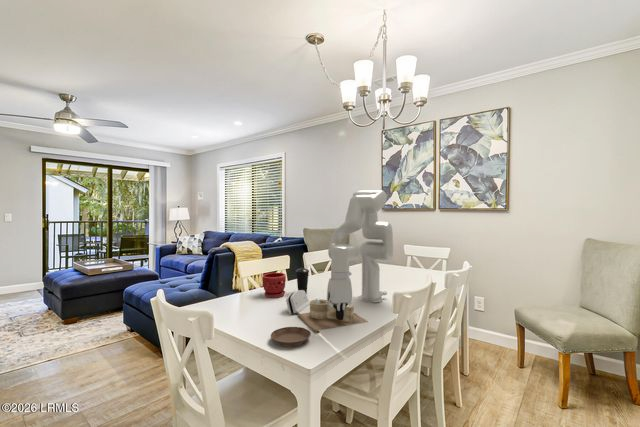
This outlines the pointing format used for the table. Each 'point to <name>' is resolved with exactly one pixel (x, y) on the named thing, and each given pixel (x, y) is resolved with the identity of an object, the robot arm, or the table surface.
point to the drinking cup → (302, 278)
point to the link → (329, 311)
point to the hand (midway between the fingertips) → (339, 319)
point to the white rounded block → (297, 301)
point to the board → (327, 322)
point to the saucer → (290, 336)
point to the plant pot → (274, 284)
